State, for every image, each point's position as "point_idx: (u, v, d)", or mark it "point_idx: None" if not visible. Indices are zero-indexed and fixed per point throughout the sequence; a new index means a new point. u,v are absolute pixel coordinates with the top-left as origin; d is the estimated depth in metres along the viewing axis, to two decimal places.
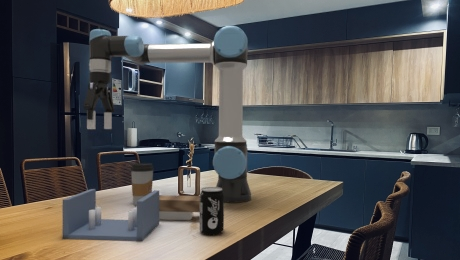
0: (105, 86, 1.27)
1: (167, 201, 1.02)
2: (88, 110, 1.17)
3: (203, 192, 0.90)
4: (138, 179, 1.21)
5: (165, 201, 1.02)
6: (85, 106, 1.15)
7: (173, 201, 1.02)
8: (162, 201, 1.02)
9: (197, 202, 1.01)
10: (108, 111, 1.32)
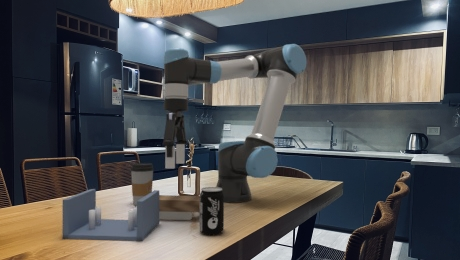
0: (180, 114, 1.07)
1: (167, 201, 1.02)
2: (168, 146, 0.97)
3: (203, 192, 0.90)
4: (138, 179, 1.21)
5: (165, 201, 1.02)
6: (165, 142, 0.95)
7: (173, 201, 1.02)
8: (162, 201, 1.02)
9: (197, 202, 1.01)
10: (180, 142, 1.13)
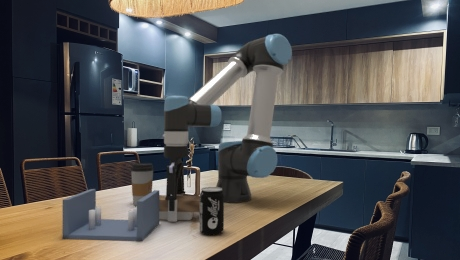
0: (181, 159, 1.08)
1: (167, 201, 1.02)
2: (170, 200, 1.00)
3: (203, 192, 0.90)
4: (138, 179, 1.21)
5: (165, 201, 1.02)
6: (168, 198, 0.98)
7: None
8: (162, 201, 1.02)
9: (197, 202, 1.01)
10: (178, 193, 1.10)
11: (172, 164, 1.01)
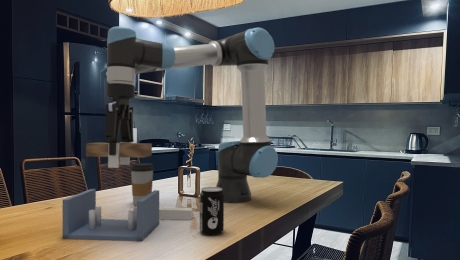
0: (127, 101, 0.96)
1: (108, 145, 0.90)
2: (110, 143, 0.88)
3: (203, 192, 0.90)
4: (138, 179, 1.21)
5: (106, 145, 0.90)
6: (107, 139, 0.86)
7: None
8: (102, 145, 0.90)
9: (141, 146, 0.89)
10: (125, 140, 0.98)
11: (113, 102, 0.89)
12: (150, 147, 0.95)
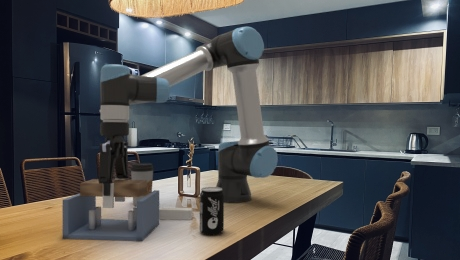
0: (122, 138, 0.95)
1: (102, 185, 0.89)
2: (104, 184, 0.87)
3: (203, 192, 0.90)
4: (138, 179, 1.21)
5: (100, 185, 0.89)
6: (101, 180, 0.85)
7: None
8: (96, 185, 0.89)
9: (136, 186, 0.88)
10: (120, 177, 0.97)
11: (107, 142, 0.88)
12: (145, 184, 0.94)
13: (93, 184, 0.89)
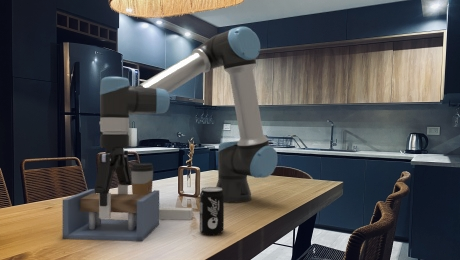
0: (121, 150, 0.95)
1: None
2: (101, 194, 0.85)
3: (203, 192, 0.90)
4: (138, 179, 1.21)
5: None
6: (97, 190, 0.83)
7: None
8: (97, 200, 0.89)
9: (136, 201, 0.89)
10: (123, 183, 0.99)
11: (107, 153, 0.88)
12: None
13: (93, 199, 0.89)
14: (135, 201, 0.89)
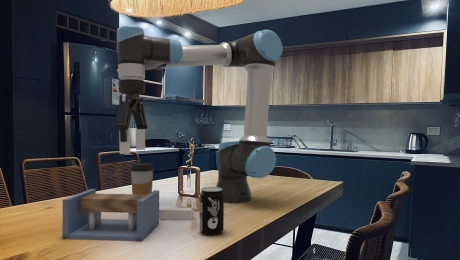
0: (138, 97, 1.01)
1: (102, 200, 0.89)
2: (121, 130, 0.91)
3: (203, 192, 0.90)
4: (138, 179, 1.21)
5: (100, 200, 0.89)
6: (118, 125, 0.89)
7: (109, 200, 0.89)
8: (97, 200, 0.89)
9: (136, 201, 0.89)
10: (140, 127, 1.06)
11: None
12: None
13: (93, 199, 0.89)
14: (135, 201, 0.89)
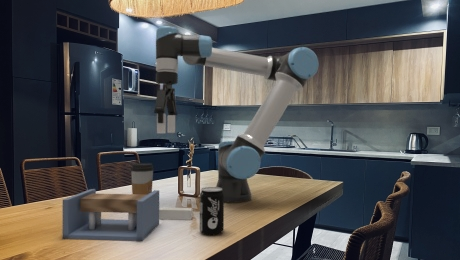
0: (171, 87, 1.19)
1: (102, 200, 0.89)
2: (159, 113, 1.08)
3: (203, 192, 0.90)
4: (138, 179, 1.21)
5: (100, 200, 0.89)
6: (157, 109, 1.07)
7: (109, 200, 0.89)
8: (97, 200, 0.89)
9: (136, 201, 0.89)
10: (171, 114, 1.24)
11: None
12: None
13: (93, 199, 0.89)
14: (135, 201, 0.89)
